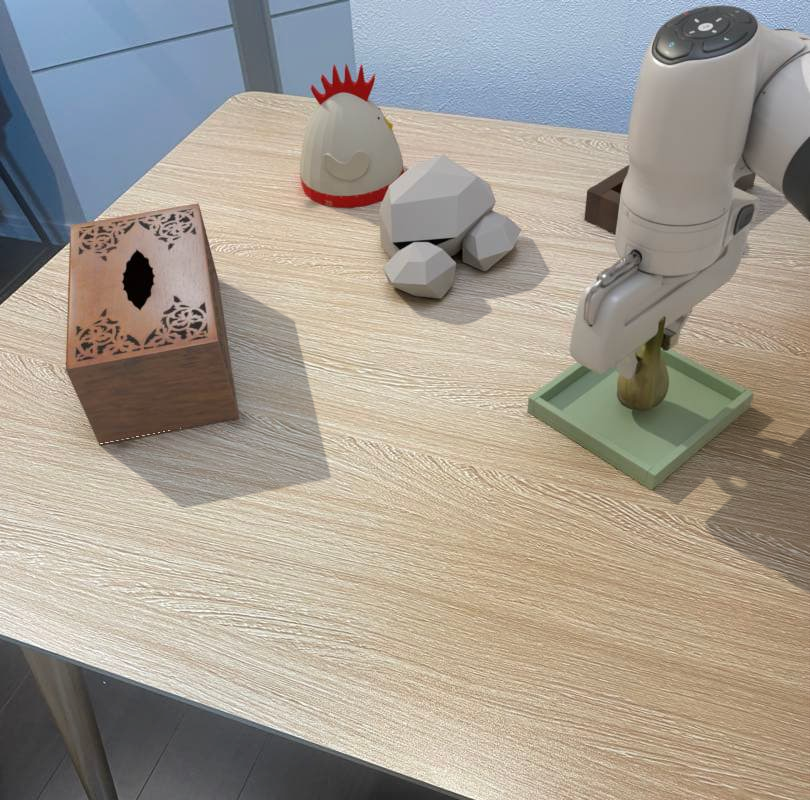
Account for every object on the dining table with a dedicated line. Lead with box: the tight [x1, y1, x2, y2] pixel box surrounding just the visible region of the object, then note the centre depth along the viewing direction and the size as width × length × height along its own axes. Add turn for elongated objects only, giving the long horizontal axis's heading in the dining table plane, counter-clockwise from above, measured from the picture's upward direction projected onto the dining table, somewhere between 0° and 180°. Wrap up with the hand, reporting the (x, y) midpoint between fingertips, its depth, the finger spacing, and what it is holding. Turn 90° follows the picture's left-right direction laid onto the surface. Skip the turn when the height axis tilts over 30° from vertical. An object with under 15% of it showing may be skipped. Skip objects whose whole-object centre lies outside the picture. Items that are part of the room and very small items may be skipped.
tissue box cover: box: [65, 202, 240, 446], centre depth 99 cm, size 26×14×10 cm, turn 12°
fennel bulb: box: [617, 316, 669, 411], centre depth 86 cm, size 6×5×12 cm
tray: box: [527, 348, 755, 491], centre depth 91 cm, size 16×16×2 cm
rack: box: [583, 164, 757, 235], centre depth 114 cm, size 11×20×4 cm, turn 133°
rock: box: [378, 153, 522, 300], centre depth 108 cm, size 18×20×10 cm
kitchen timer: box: [299, 63, 405, 209], centre depth 118 cm, size 14×14×15 cm
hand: (647, 358), depth 87 cm, fingers closed on fennel bulb, 4 cm apart
